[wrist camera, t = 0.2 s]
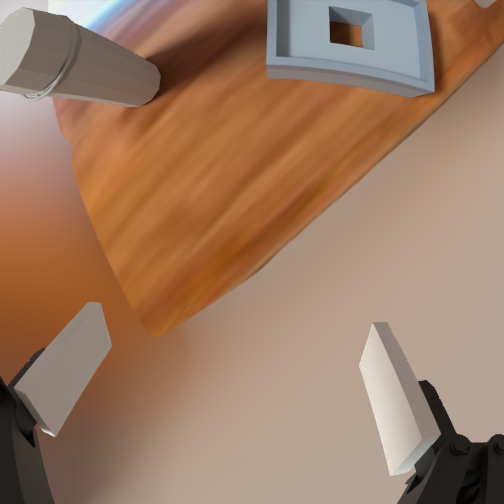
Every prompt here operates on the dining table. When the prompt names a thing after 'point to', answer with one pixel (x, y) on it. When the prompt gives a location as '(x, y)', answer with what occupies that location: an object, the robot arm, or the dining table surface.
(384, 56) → the box
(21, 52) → the water bottle
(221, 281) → the dining table surface
